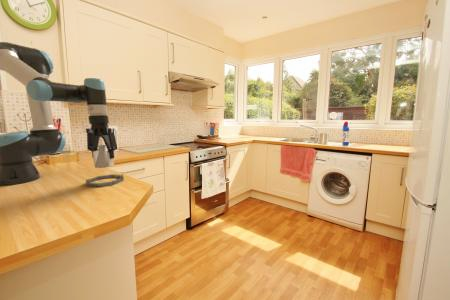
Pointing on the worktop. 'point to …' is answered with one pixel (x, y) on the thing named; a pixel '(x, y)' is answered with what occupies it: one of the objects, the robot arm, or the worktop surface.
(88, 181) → the collar
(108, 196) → the worktop surface
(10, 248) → the worktop surface
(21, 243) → the worktop surface
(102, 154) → the flask
